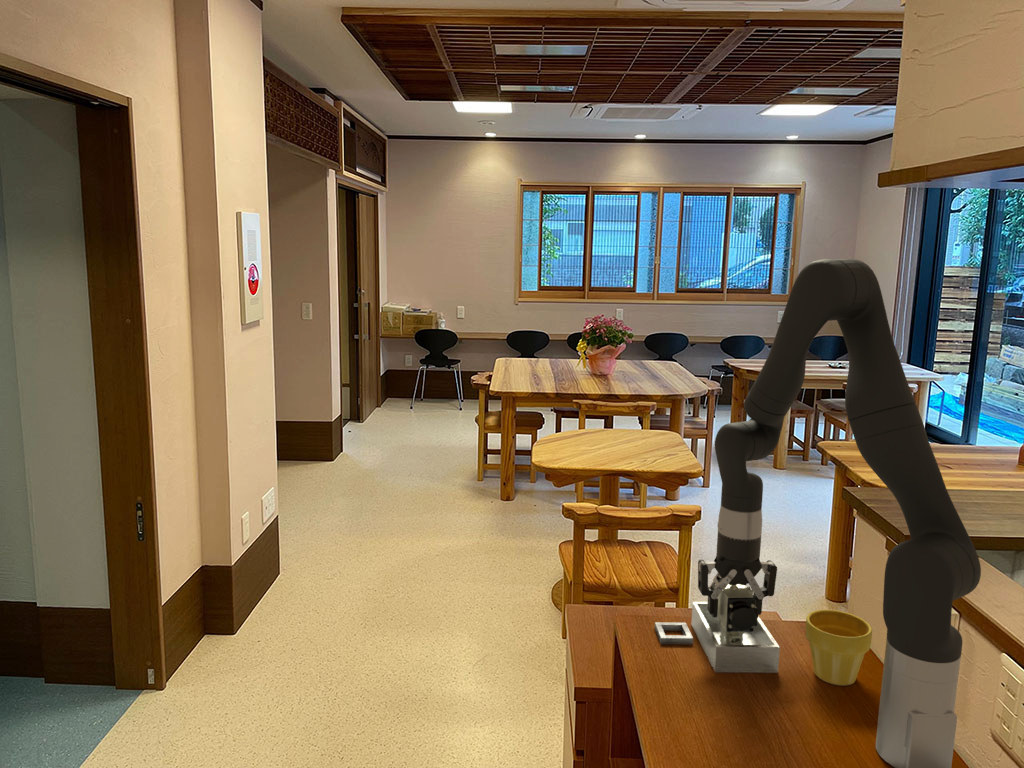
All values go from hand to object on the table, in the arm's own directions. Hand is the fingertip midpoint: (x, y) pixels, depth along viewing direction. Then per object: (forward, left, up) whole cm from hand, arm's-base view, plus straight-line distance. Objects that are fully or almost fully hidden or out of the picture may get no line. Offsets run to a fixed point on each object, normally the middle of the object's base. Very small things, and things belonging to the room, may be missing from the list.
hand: (734, 615), depth 135 cm
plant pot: (-9, -15, -6) cm, 19 cm away
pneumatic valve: (0, 0, -6) cm, 6 cm away
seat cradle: (0, 0, -6) cm, 6 cm away
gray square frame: (+4, +10, -6) cm, 12 cm away
